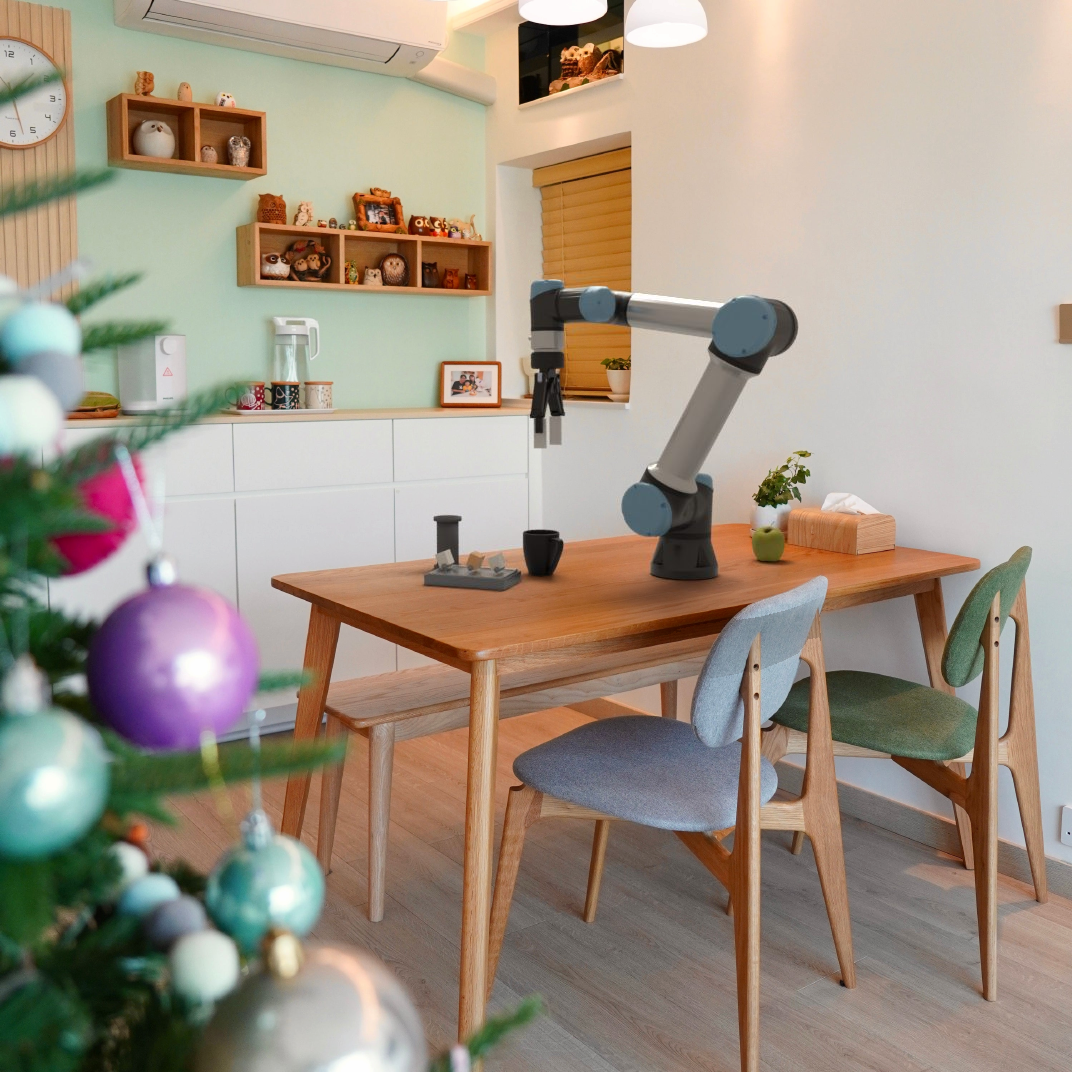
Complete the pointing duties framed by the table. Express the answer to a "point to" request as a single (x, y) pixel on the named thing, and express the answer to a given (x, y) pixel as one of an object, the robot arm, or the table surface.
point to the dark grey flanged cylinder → (448, 536)
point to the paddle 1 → (445, 559)
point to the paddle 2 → (497, 562)
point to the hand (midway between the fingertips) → (548, 446)
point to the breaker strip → (473, 577)
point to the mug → (542, 551)
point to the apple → (768, 543)
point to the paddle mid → (475, 561)
